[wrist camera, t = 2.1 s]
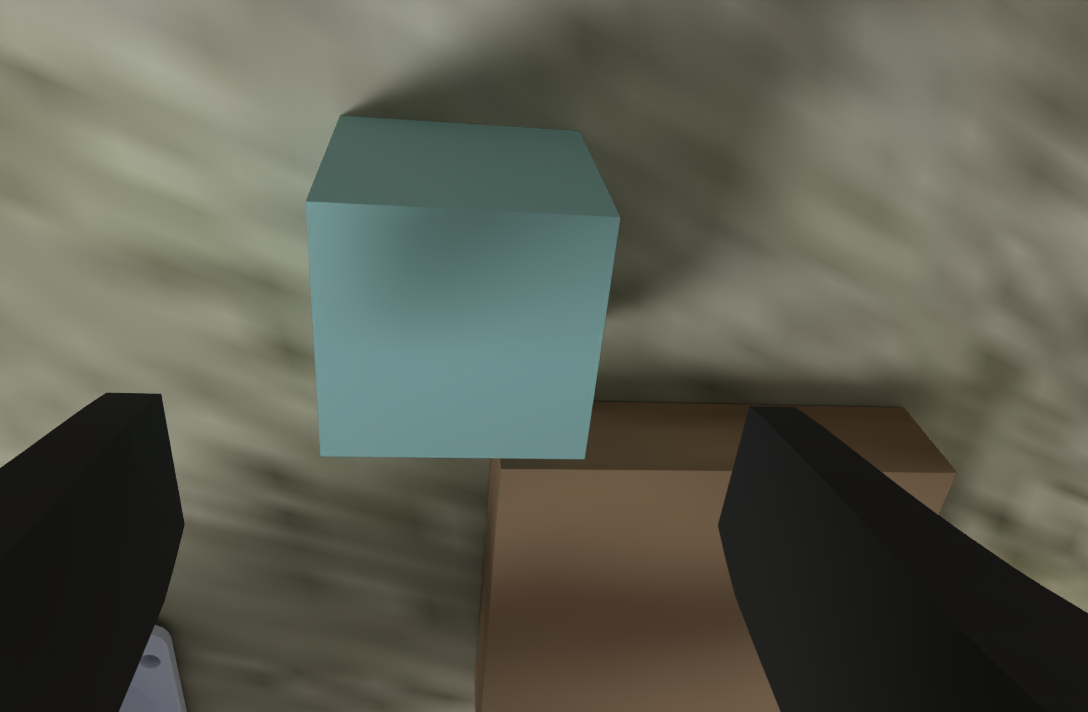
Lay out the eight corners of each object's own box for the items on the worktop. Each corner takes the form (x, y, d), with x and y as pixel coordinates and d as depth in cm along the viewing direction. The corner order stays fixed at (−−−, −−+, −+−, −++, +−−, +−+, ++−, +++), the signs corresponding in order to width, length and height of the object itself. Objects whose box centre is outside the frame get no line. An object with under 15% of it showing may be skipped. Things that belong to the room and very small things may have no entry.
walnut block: (801, 675, 25) (833, 750, 23) (474, 684, 24) (476, 764, 22) (903, 407, 20) (957, 472, 18) (495, 399, 19) (500, 468, 17)
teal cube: (555, 332, 18) (584, 459, 14) (347, 325, 18) (320, 456, 14) (578, 129, 16) (620, 217, 12) (340, 114, 15) (305, 201, 12)
